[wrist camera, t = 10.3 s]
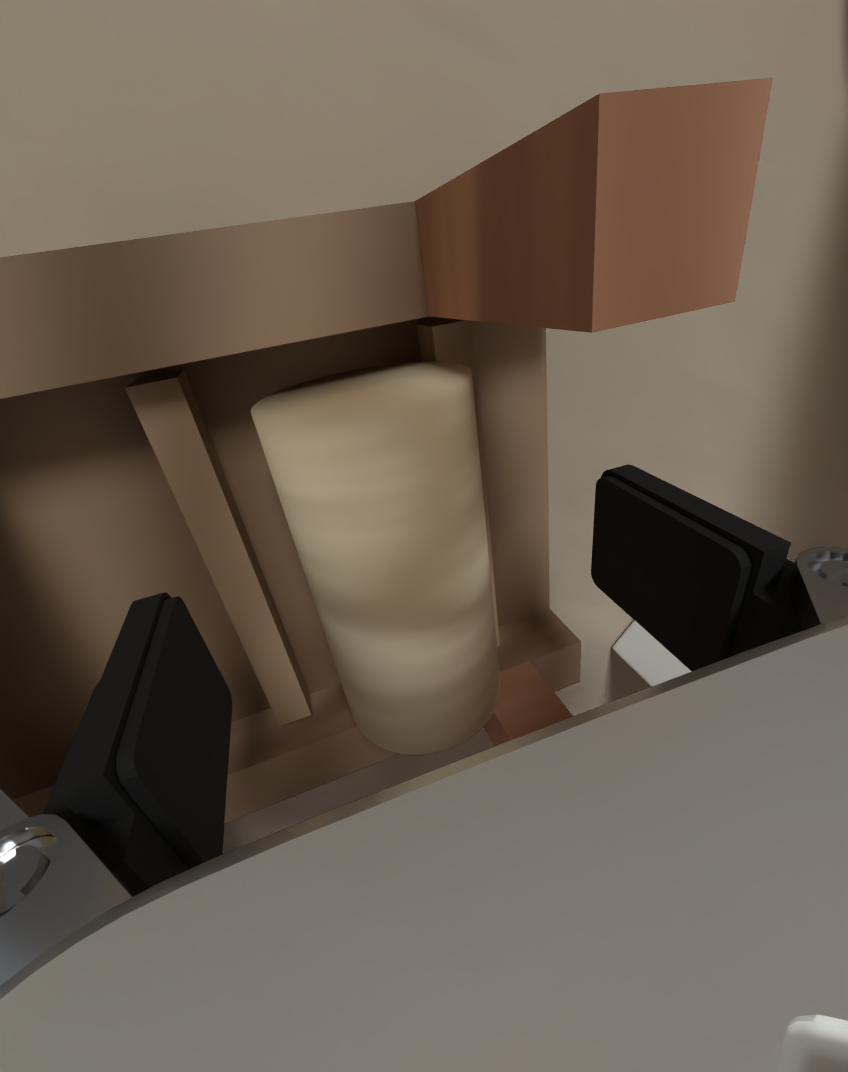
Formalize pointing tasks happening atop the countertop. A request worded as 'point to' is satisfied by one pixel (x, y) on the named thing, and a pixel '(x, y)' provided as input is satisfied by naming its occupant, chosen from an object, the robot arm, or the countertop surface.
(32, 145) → the countertop surface
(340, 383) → the roller
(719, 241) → the track
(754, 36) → the countertop surface
